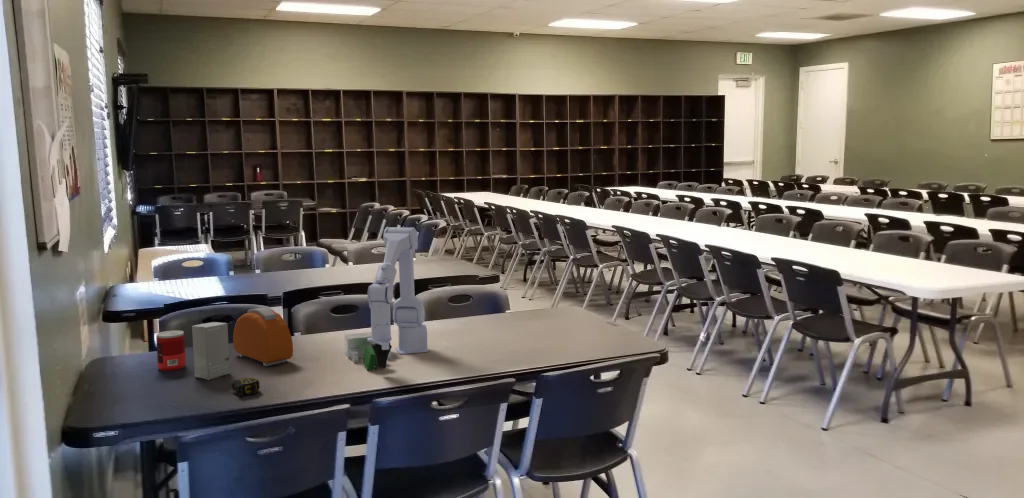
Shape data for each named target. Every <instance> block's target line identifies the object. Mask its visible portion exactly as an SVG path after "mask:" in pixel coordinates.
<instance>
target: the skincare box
mask: <svg viewBox="0 0 1024 498" xmlns="http://www.w3.org/2000/svg"><path fill="white" fill-rule="evenodd" d="M228 327H229V326H228V323H227V322H217V321H211V322H205V323H200V324H195V325H192V326H191V333H192V334H191V335H192V348H193V349H192V351H193V352H192V353H193V369H194V377H195V378H198V379H202V380H203V379H204V380H208V381H210V379H211V380H213V379H216V378H221V377H222V376H226V375H229V374H230V373H231V370H230V369H231V367H230V351H229V350H230V349H229V348H230V347H229V332H228Z"/></svg>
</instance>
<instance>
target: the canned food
mask: <svg viewBox="0 0 1024 498" xmlns="http://www.w3.org/2000/svg"><path fill="white" fill-rule="evenodd" d="M155 338H156V341H155V342H156V354H157V355H156V357H157V368H158V370H159V371H162V372H172V371H177V370H182V369H183V368H185V367H186V364H187V363H186V345H185V343H186V342H185V333H184V330H174V329H173V330H165V331H160V332H158V333H156V335H155Z"/></svg>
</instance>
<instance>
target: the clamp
mask: <svg viewBox="0 0 1024 498" xmlns="http://www.w3.org/2000/svg"><path fill="white" fill-rule="evenodd" d="M361 360H362V362H361V363H362V365H363V366H364V368H365V369H366V370H367V371H374V370H375V368H378V366H377V361H376V357H375V353H374V350H373V348H372V347H367V346H365V351H364V355H363V357H362V359H361Z"/></svg>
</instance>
